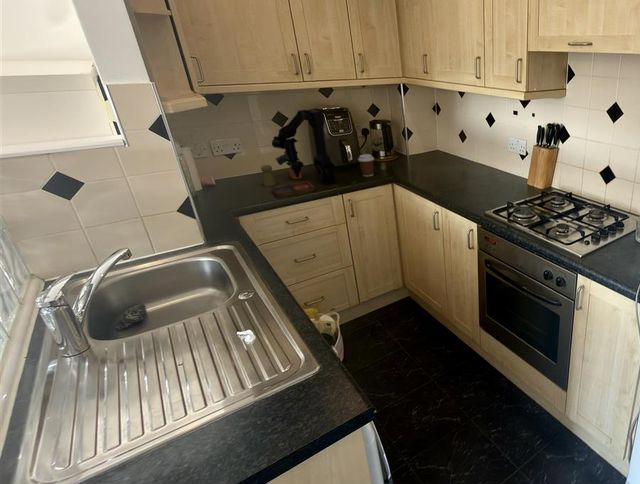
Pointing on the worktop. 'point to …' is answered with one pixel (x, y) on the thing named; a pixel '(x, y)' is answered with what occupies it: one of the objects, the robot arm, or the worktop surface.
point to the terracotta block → (294, 174)
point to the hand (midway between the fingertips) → (296, 175)
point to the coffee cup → (366, 164)
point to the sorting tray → (293, 189)
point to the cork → (268, 175)
